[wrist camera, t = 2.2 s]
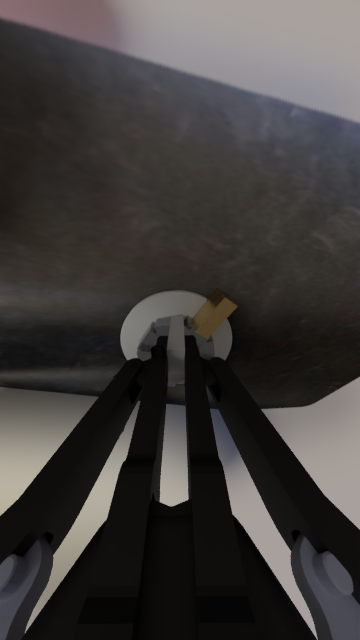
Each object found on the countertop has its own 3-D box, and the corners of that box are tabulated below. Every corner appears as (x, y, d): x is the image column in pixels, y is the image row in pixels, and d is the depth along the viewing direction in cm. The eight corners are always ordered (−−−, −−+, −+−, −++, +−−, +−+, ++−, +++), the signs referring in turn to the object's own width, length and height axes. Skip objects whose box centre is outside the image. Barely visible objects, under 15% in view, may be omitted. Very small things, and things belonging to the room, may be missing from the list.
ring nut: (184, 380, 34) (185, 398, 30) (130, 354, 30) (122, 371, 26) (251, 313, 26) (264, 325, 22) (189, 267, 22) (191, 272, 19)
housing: (106, 352, 32) (87, 381, 26) (158, 263, 24) (150, 271, 17) (188, 390, 38) (190, 421, 32) (252, 329, 30) (274, 354, 23)
